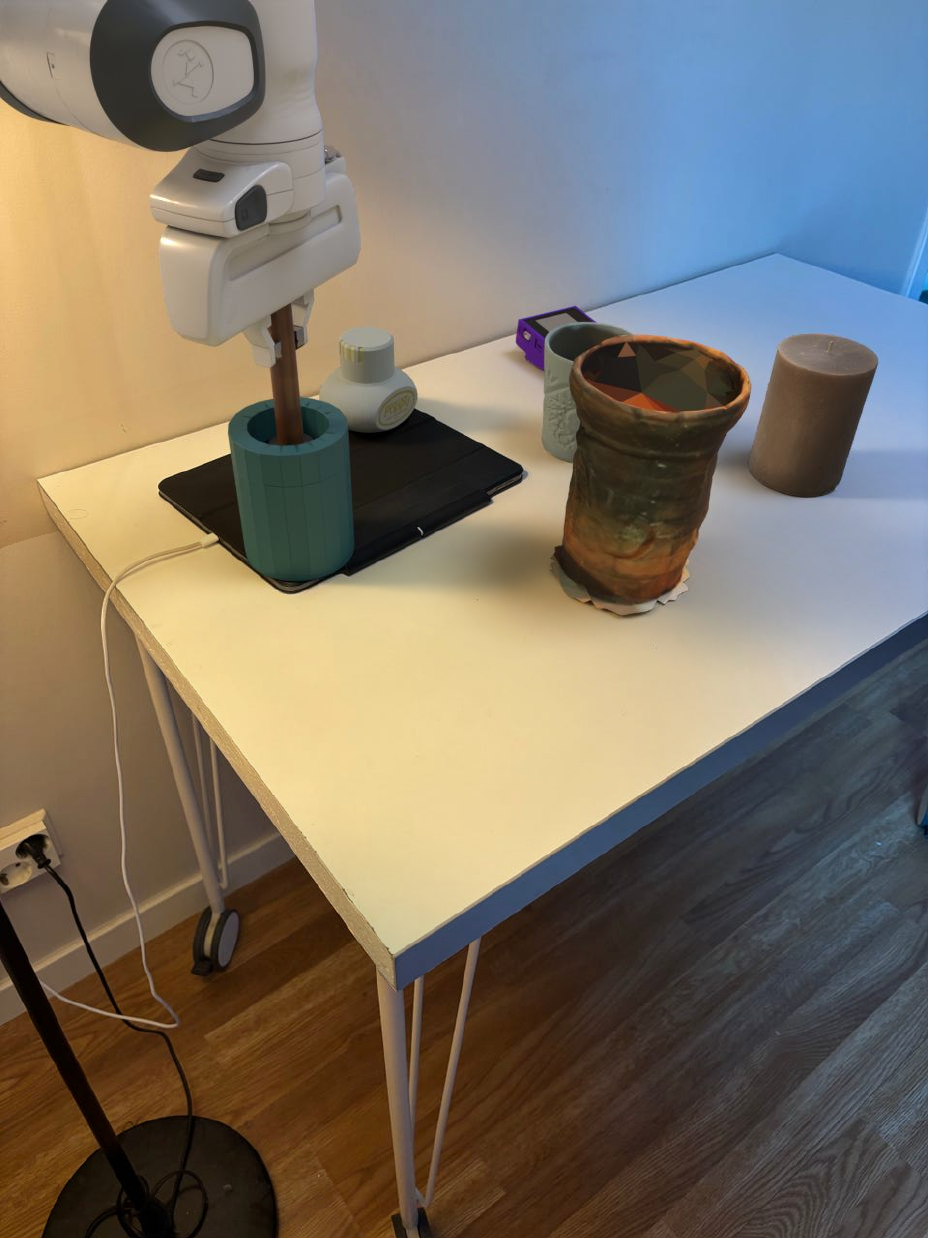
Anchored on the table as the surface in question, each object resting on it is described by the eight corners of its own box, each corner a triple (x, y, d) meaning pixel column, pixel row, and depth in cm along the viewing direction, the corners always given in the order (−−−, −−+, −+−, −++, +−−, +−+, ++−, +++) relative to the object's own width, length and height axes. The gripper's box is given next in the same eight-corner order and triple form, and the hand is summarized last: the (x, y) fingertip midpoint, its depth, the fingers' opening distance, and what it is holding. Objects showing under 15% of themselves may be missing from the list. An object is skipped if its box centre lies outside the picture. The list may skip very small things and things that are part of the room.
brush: (264, 496, 84) (239, 298, 73) (290, 475, 87) (270, 281, 75) (302, 509, 83) (282, 309, 71) (327, 487, 86) (312, 291, 74)
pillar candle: (848, 500, 98) (896, 365, 89) (753, 494, 99) (790, 358, 89) (828, 452, 106) (870, 322, 96) (740, 446, 106) (772, 316, 96)
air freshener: (373, 392, 113) (371, 310, 107) (428, 414, 109) (428, 330, 103) (309, 427, 106) (301, 342, 100) (364, 451, 103) (360, 365, 96)
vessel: (736, 596, 86) (793, 393, 73) (598, 635, 81) (633, 426, 68) (650, 512, 96) (686, 320, 83) (522, 543, 91) (540, 344, 78)
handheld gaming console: (591, 376, 110) (518, 316, 118) (583, 414, 114) (512, 353, 122) (652, 359, 114) (577, 301, 122) (642, 396, 118) (570, 338, 126)
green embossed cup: (589, 414, 111) (602, 314, 103) (646, 454, 104) (664, 350, 96) (517, 435, 106) (525, 333, 99) (571, 478, 100) (584, 372, 92)
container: (223, 560, 87) (203, 435, 79) (287, 507, 94) (274, 386, 86) (315, 594, 84) (304, 467, 76) (374, 536, 91) (369, 414, 83)
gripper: (308, 132, 76) (320, 302, 85) (130, 202, 62) (167, 396, 71) (376, 144, 74) (381, 317, 83) (208, 219, 60) (236, 417, 69)
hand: (281, 354), depth 77 cm, fingers closed on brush, 2 cm apart
